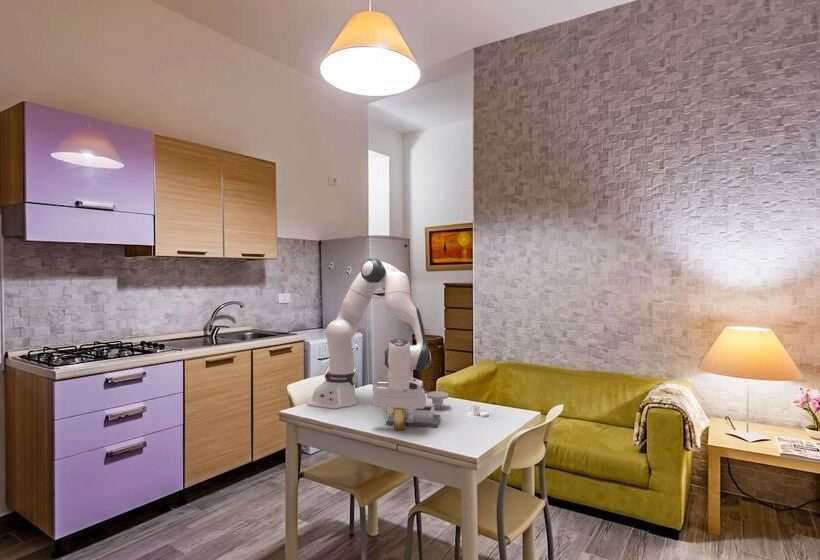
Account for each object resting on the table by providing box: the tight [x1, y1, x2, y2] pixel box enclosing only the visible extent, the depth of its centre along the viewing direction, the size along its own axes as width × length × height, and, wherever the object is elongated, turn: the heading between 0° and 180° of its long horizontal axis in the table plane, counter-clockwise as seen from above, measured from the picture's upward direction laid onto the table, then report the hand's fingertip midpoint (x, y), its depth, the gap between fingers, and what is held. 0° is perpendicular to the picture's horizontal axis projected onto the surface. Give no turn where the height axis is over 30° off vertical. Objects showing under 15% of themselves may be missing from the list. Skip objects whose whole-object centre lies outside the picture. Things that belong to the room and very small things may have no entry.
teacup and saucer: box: [466, 404, 489, 419], centre depth 193 cm, size 9×8×4 cm
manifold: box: [385, 405, 441, 429], centre depth 184 cm, size 20×12×6 cm, turn 80°
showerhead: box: [425, 390, 449, 410], centre depth 203 cm, size 9×7×10 cm
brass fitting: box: [392, 407, 406, 432], centre depth 174 cm, size 4×4×8 cm
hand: (399, 418), depth 174 cm, fingers open, 8 cm apart
